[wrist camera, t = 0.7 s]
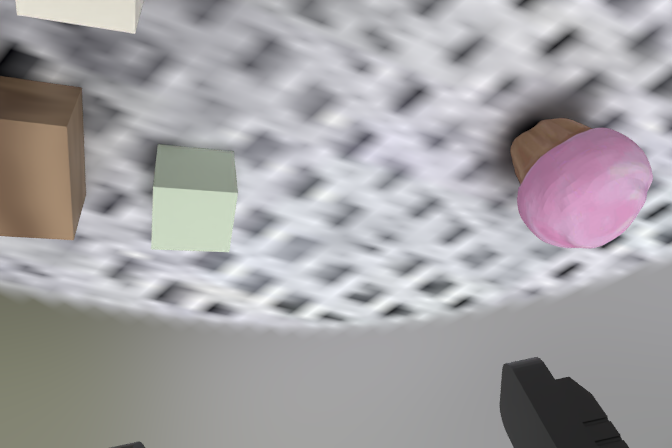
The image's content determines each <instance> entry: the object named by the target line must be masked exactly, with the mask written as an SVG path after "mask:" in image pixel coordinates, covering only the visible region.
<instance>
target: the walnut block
mask: <svg viewBox="0 0 672 448" xmlns="http://www.w3.org/2000/svg"><path fill="white" fill-rule="evenodd" d="M85 196H86V184H85V157H84V131H83V105H82V88H81V87H74V86H67V85H60V84H53V83H46V82H39V81H32V80H25V79H18V78H11V77H4V76H0V236H9V237H28V238H46V239H64V240H74V237H75V233H76V229H77V226H78V222H79V218H80V215H81V211H82V207H83V204H84V200H85Z"/></svg>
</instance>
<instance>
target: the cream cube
mask: <svg viewBox="0 0 672 448" xmlns="http://www.w3.org/2000/svg"><path fill="white" fill-rule="evenodd" d="M15 1H16V9H17V15H20V16H27V17H33V18H39V19H45V20H52V21H58V22H64V23H71V24H77V25H83V26H89V27H96V28H102V29H108V30H115V31H121V32H127V33H133V34H135V32H136V29H137V25H138V21H139V17H140V14H141V10H142V6H143V0H15Z"/></svg>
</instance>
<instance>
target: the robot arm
mask: <svg viewBox="0 0 672 448" xmlns="http://www.w3.org/2000/svg"><path fill="white" fill-rule="evenodd" d="M500 413H501V417H502V421H503V424H504V427H505V430H506V432H507V434H508V436H509V439H510V441H511V443H512V445H513V447H514V448H629V447H628V445H627V444H626V443H625V441H624V440H622V439H621V437H620V434H619V433H618V431H617V430H616V428H615V427H614V425H613V424H612V423H611V421H609V420H608V418H607V415H606V414H605V412H604V411H603V410H602V408H601V407H600V405H599V404H598V402H597V401H596V400H595V398H594V397H593V395H592V394H591V393H590V392H588V391H587V390H586V389H584V388H583V387H582V386H580V385H579V384H578V383H577V382H575V381H574V380H573V379H571V378H570V377H566V378H561V379H556V380H555V379H554V378H553V376H552V374H551V373H550V371H549V370H548V368H547V367H546V365H545V364H544V362H543V361H542V360H541V359H540V358H538V357H534V358H529V359H525V360H520V361H515V362H511V363H506V364H504V365H503V369H502V381H501V394H500ZM111 448H145V447H144V445H143V444H142V443H141V442H134V443H130V444H125V445H120V446H116V447H111Z"/></svg>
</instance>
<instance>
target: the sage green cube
mask: <svg viewBox="0 0 672 448" xmlns="http://www.w3.org/2000/svg"><path fill="white" fill-rule="evenodd" d="M237 195H238V190H237V180H236V170H235V160H234V152H233V151H223V150H213V149H202V148H192V147H182V146H171V145H161V144H158V147H157V156H156V165H155V174H154V183H153V209H152V246H151V249H159V250H186V251H213V252H229V249H230V242H231V236H232V229H233V222H234V216H235V209H236V202H237Z"/></svg>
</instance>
